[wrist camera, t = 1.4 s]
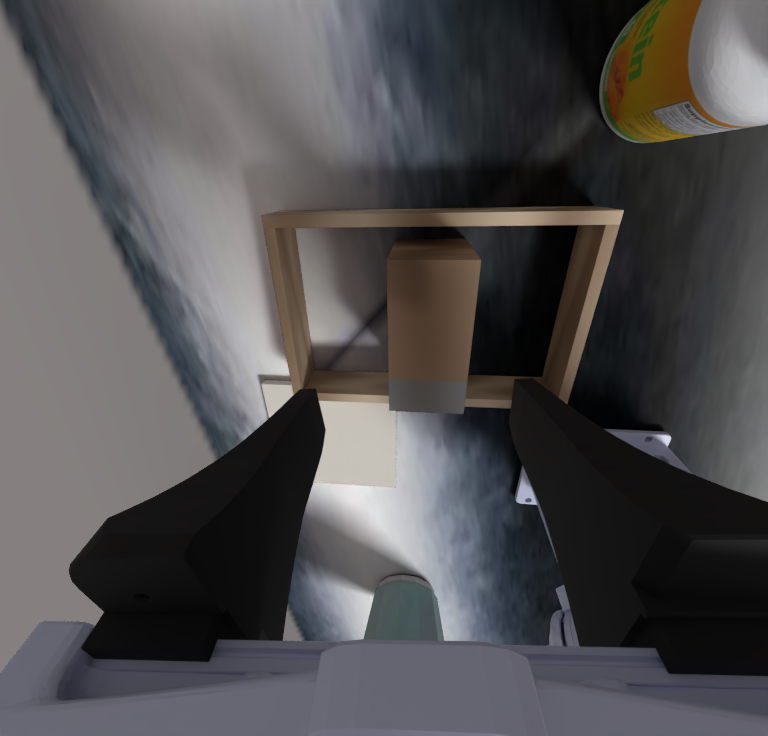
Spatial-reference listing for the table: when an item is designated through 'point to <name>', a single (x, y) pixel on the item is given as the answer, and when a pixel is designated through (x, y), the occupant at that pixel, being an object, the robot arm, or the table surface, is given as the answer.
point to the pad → (349, 439)
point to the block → (430, 323)
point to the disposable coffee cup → (404, 611)
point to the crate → (585, 259)
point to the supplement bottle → (687, 70)
